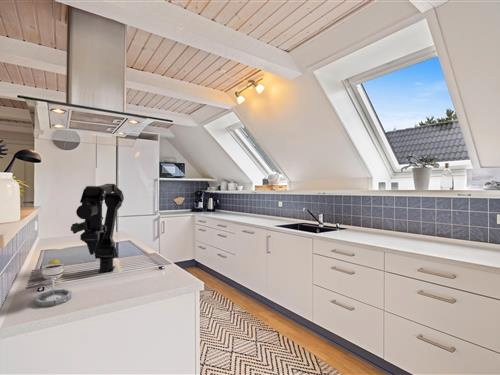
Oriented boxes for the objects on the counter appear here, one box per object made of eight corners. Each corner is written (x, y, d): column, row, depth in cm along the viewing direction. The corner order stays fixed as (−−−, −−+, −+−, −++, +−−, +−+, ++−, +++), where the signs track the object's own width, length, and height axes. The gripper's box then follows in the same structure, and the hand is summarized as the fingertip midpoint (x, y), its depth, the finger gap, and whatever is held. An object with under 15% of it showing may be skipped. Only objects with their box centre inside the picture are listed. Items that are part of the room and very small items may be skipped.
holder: (42, 295, 107) (42, 290, 107) (75, 292, 110) (75, 287, 110) (28, 308, 97) (28, 303, 97) (65, 305, 100) (65, 300, 100)
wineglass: (44, 295, 105) (44, 263, 105) (66, 292, 108) (65, 261, 108) (39, 303, 99) (39, 269, 99) (62, 300, 102) (62, 267, 101)
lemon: (51, 274, 128) (51, 257, 127) (64, 274, 128) (64, 257, 128) (43, 279, 122) (43, 261, 122) (57, 279, 123) (57, 261, 122)
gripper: (79, 212, 127) (79, 246, 128) (65, 219, 109) (65, 259, 110) (107, 212, 130) (106, 245, 131) (97, 218, 112) (97, 257, 113)
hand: (94, 251), depth 121 cm, fingers open, 9 cm apart
